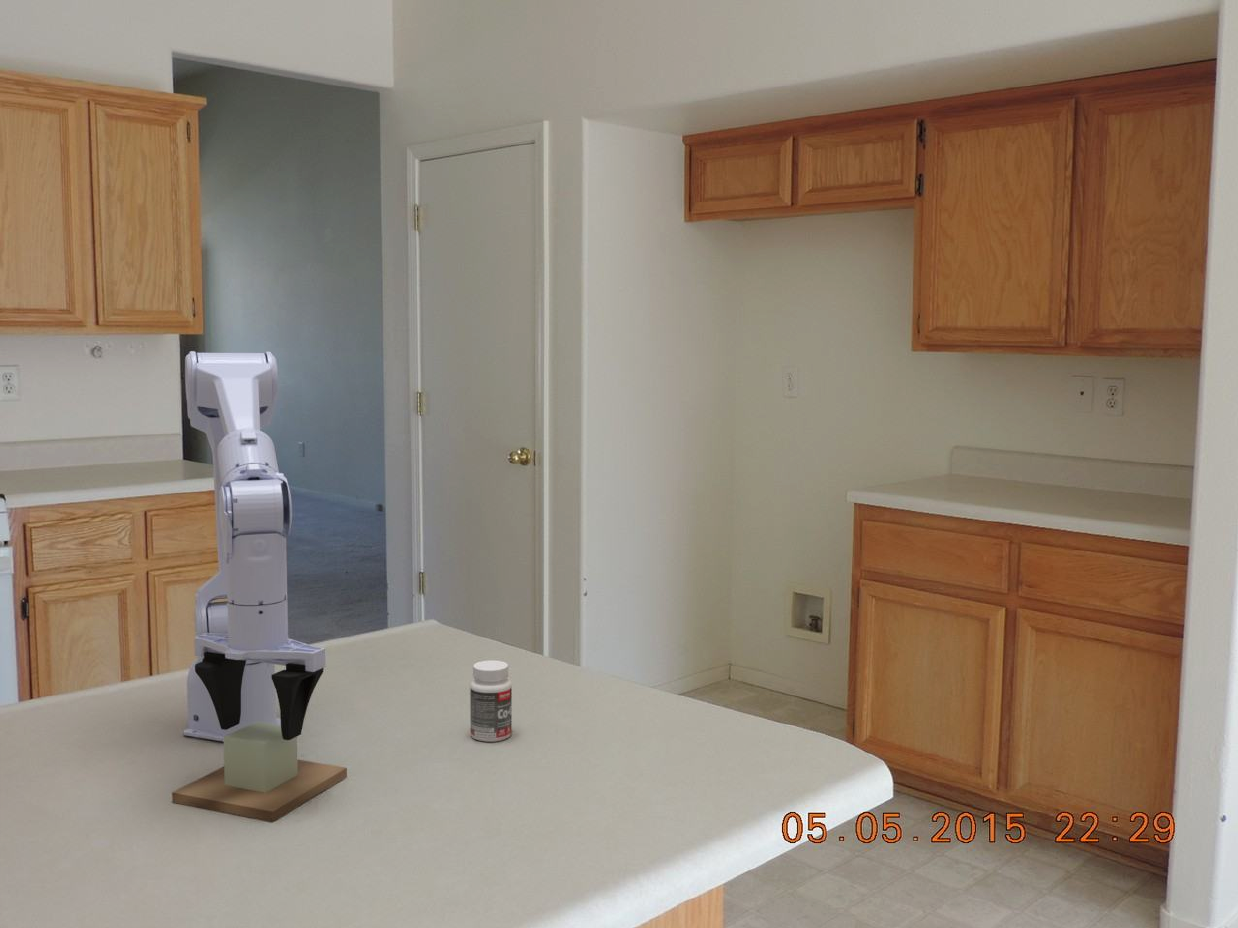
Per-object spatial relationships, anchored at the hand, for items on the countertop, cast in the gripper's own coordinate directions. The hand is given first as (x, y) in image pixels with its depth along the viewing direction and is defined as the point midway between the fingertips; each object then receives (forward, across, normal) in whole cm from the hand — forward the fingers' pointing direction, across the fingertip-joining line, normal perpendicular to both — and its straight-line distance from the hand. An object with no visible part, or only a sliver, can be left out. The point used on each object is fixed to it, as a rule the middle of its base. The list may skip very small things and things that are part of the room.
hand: (260, 731), depth 114 cm
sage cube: (+5, 0, 0) cm, 5 cm away
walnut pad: (+6, 0, 0) cm, 6 cm away
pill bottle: (+6, +14, +23) cm, 28 cm away
